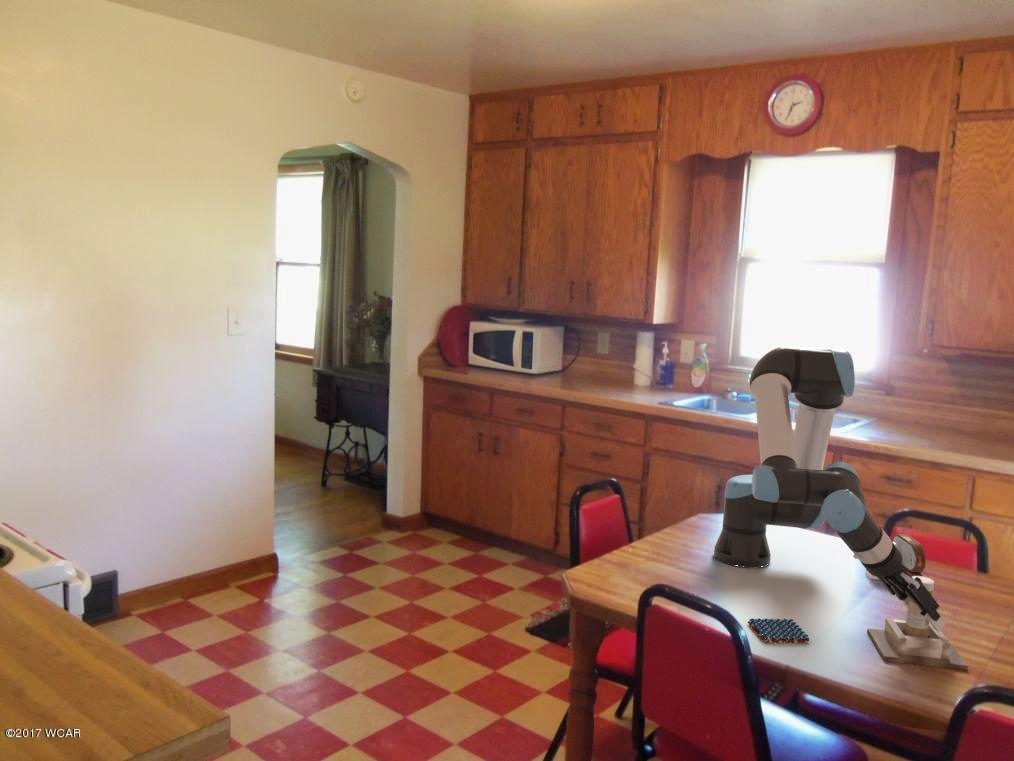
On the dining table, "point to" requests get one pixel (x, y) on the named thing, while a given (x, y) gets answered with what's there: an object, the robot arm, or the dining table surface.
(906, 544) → the tin
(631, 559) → the dining table surface
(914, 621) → the sprinkles bottle
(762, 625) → the woven mat
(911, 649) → the frame
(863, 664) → the dining table surface
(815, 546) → the dining table surface
